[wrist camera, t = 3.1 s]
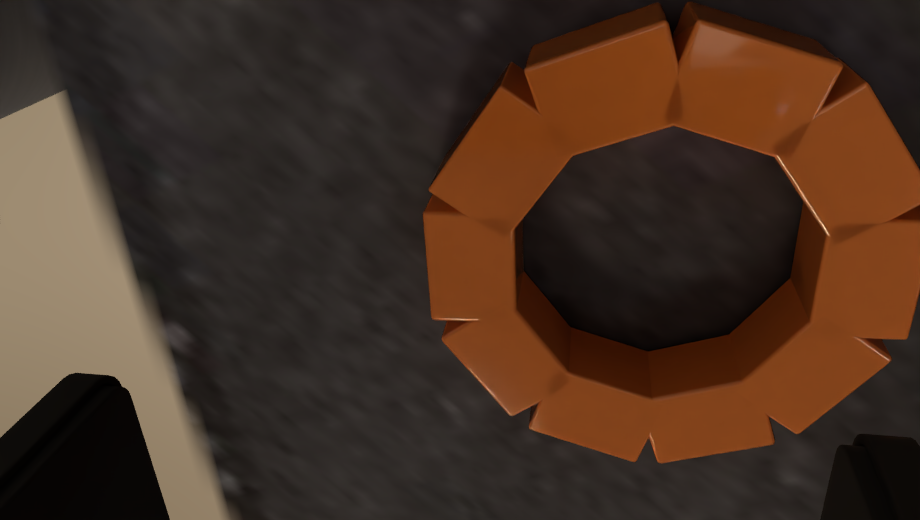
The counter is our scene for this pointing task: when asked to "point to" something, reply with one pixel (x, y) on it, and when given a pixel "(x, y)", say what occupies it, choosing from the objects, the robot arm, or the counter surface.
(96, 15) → the counter surface
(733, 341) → the ring
